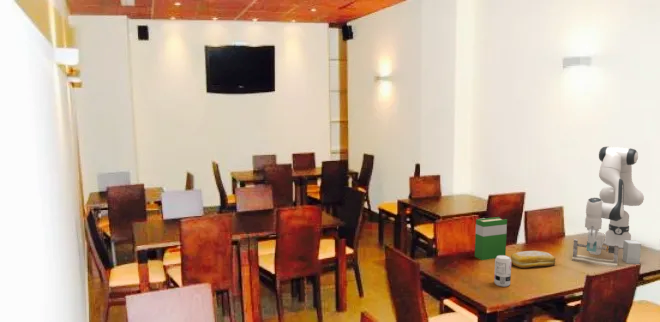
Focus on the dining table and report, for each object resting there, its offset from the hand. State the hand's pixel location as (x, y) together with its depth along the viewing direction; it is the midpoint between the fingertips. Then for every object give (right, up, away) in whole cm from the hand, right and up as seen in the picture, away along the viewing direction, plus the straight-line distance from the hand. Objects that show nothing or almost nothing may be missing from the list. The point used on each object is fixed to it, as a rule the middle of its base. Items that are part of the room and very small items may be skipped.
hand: (591, 247), depth 308 cm
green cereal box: (-59, -8, +10) cm, 60 cm away
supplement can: (-67, -14, -36) cm, 78 cm away
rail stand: (+2, -9, 0) cm, 9 cm away
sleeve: (0, -2, 0) cm, 2 cm away
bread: (-38, -10, -5) cm, 40 cm away
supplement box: (+24, -9, 0) cm, 25 cm away
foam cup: (+11, -7, +17) cm, 21 cm away
